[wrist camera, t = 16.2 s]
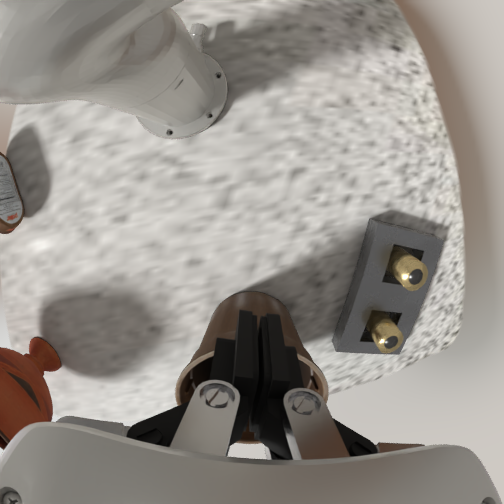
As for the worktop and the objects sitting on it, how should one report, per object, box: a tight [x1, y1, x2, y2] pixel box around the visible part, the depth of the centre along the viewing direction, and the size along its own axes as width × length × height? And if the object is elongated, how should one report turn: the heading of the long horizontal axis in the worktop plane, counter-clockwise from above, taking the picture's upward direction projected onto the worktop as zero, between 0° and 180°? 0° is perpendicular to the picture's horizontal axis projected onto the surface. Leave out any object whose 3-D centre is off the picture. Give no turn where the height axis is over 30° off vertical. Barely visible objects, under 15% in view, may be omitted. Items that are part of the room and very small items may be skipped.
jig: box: [332, 219, 444, 354], centre depth 37 cm, size 20×12×7 cm, turn 170°
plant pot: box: [175, 292, 328, 444], centre depth 34 cm, size 16×16×16 cm
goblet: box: [0, 338, 61, 450], centre depth 34 cm, size 19×19×25 cm
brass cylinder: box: [386, 246, 428, 291], centre depth 35 cm, size 4×4×7 cm
